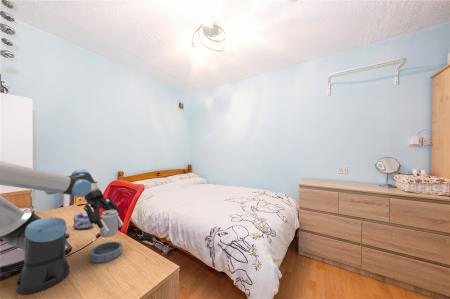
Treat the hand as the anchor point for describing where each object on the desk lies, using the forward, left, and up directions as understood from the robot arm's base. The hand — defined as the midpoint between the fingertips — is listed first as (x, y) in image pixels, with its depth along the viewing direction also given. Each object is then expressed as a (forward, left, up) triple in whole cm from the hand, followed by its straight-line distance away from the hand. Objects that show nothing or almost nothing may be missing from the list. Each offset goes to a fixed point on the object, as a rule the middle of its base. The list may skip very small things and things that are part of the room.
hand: (114, 228), depth 88 cm
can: (+2, +3, -4) cm, 5 cm away
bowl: (+1, +3, -14) cm, 14 cm away
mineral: (+38, +32, -14) cm, 52 cm away
